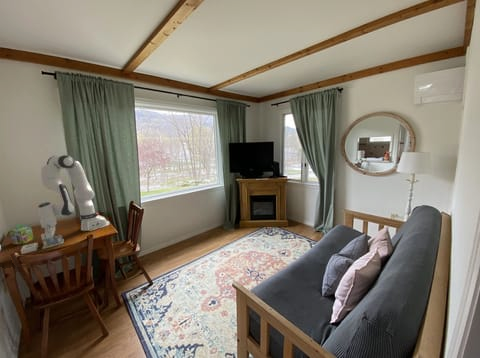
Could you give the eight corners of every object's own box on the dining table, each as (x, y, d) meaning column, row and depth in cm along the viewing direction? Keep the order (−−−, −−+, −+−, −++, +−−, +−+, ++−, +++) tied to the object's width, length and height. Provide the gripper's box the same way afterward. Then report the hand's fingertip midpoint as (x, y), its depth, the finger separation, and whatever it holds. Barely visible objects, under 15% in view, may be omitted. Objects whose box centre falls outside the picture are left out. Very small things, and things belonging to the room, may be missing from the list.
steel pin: (48, 241, 168) (46, 232, 167) (47, 243, 166) (45, 234, 164) (43, 243, 166) (41, 233, 165) (42, 244, 164) (40, 235, 162)
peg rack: (63, 240, 170) (62, 234, 169) (63, 243, 164) (61, 238, 163) (44, 244, 163) (42, 239, 162) (42, 248, 157) (41, 242, 156)
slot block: (38, 246, 162) (37, 242, 161) (36, 250, 155) (35, 246, 155) (24, 249, 157) (23, 245, 156) (21, 254, 151) (20, 250, 150)
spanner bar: (62, 240, 168) (61, 234, 168) (62, 241, 165) (61, 236, 165) (44, 244, 162) (43, 239, 161) (43, 246, 159) (42, 240, 158)
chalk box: (23, 244, 165) (18, 227, 162) (12, 244, 165) (7, 227, 162) (34, 239, 174) (30, 222, 171) (24, 239, 174) (20, 222, 171)
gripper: (52, 226, 154) (56, 243, 157) (55, 218, 170) (59, 233, 173) (41, 228, 150) (45, 246, 153) (45, 220, 166) (49, 236, 169)
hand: (52, 239), depth 163 cm, fingers open, 4 cm apart
